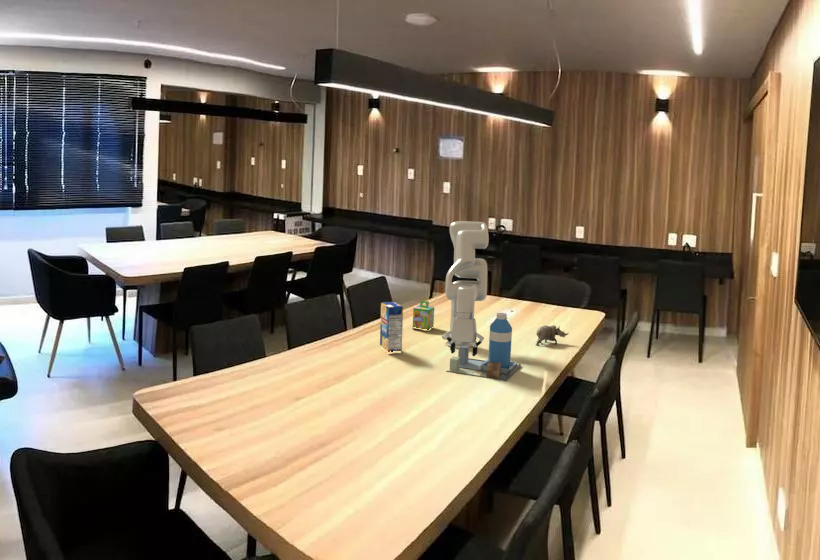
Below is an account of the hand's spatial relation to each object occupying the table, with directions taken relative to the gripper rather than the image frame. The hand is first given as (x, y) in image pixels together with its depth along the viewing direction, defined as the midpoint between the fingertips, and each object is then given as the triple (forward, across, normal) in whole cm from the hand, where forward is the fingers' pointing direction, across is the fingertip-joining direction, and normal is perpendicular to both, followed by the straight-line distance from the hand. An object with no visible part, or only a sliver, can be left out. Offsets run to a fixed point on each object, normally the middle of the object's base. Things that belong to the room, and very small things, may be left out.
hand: (463, 354), depth 293 cm
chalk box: (+4, -41, +54) cm, 68 cm away
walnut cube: (+4, +16, -10) cm, 20 cm away
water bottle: (+6, +16, +1) cm, 17 cm away
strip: (+5, +3, -10) cm, 12 cm away
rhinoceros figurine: (+5, +25, +58) cm, 63 cm away
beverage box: (+5, -38, +7) cm, 39 cm away
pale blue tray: (+6, +10, +1) cm, 11 cm away
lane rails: (+6, +10, -3) cm, 12 cm away
